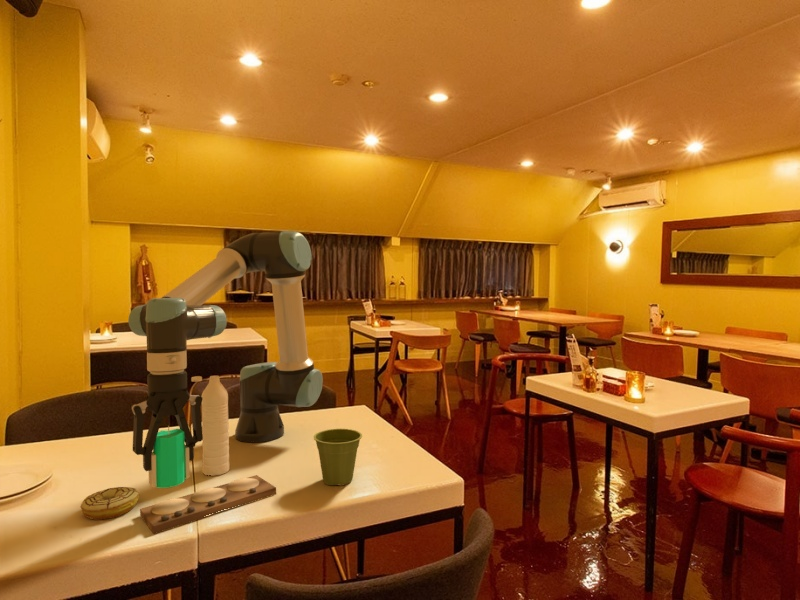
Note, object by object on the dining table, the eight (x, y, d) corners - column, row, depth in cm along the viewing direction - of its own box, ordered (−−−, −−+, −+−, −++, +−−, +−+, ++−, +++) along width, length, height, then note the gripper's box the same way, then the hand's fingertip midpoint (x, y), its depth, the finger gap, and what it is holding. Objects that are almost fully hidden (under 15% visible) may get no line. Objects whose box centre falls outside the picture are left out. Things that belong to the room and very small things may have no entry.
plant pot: (349, 493, 110) (348, 445, 110) (304, 486, 114) (304, 440, 114) (370, 474, 121) (369, 430, 121) (328, 468, 125) (328, 426, 125)
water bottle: (229, 465, 128) (227, 372, 127) (229, 474, 122) (227, 377, 121) (194, 469, 125) (192, 375, 125) (192, 479, 119) (190, 379, 118)
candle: (190, 476, 103) (189, 421, 103) (175, 488, 97) (173, 430, 97) (164, 475, 104) (163, 421, 104) (147, 487, 98) (146, 429, 98)
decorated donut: (113, 497, 110) (113, 481, 110) (149, 503, 107) (149, 486, 106) (69, 518, 100) (68, 500, 100) (107, 525, 97) (107, 507, 97)
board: (140, 515, 100) (139, 505, 100) (256, 480, 118) (256, 472, 118) (153, 533, 93) (153, 523, 93) (276, 493, 110) (275, 485, 110)
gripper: (120, 379, 91) (123, 499, 92) (219, 368, 104) (220, 473, 104) (112, 374, 97) (114, 487, 97) (206, 364, 109) (208, 464, 110)
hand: (169, 480), depth 101 cm, fingers closed on candle, 6 cm apart
